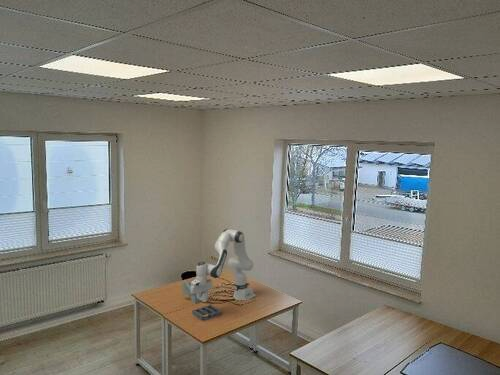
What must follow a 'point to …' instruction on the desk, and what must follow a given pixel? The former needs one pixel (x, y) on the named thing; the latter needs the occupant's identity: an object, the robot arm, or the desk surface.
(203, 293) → the panel
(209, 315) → the rack
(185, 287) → the bracket
